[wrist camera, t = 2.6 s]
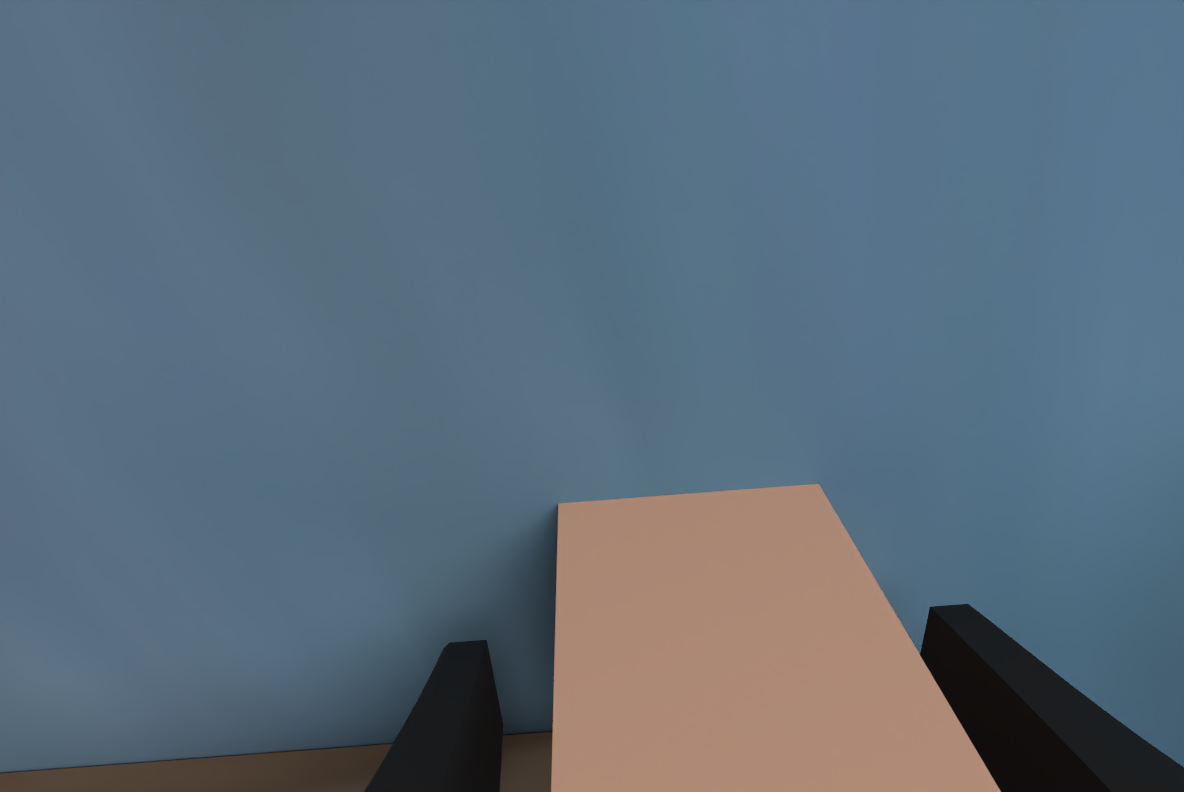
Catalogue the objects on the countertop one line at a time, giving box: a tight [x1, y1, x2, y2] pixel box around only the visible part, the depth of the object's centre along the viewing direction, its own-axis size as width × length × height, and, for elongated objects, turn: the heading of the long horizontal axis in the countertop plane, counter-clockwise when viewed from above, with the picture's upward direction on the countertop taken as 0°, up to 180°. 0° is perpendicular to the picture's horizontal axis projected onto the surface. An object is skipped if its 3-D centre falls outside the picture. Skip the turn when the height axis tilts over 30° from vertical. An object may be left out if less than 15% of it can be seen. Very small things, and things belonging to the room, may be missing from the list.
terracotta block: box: [551, 484, 1001, 792], centre depth 10 cm, size 4×4×6 cm
